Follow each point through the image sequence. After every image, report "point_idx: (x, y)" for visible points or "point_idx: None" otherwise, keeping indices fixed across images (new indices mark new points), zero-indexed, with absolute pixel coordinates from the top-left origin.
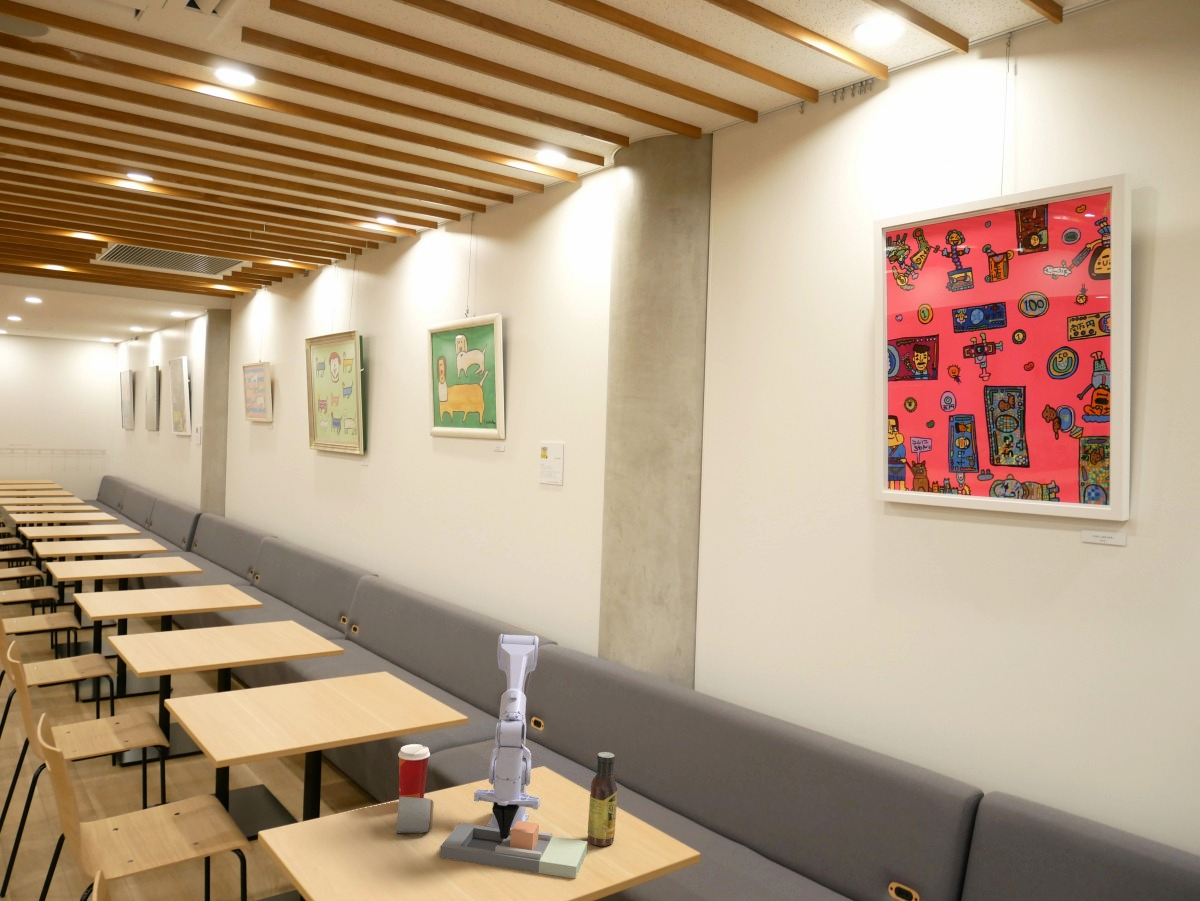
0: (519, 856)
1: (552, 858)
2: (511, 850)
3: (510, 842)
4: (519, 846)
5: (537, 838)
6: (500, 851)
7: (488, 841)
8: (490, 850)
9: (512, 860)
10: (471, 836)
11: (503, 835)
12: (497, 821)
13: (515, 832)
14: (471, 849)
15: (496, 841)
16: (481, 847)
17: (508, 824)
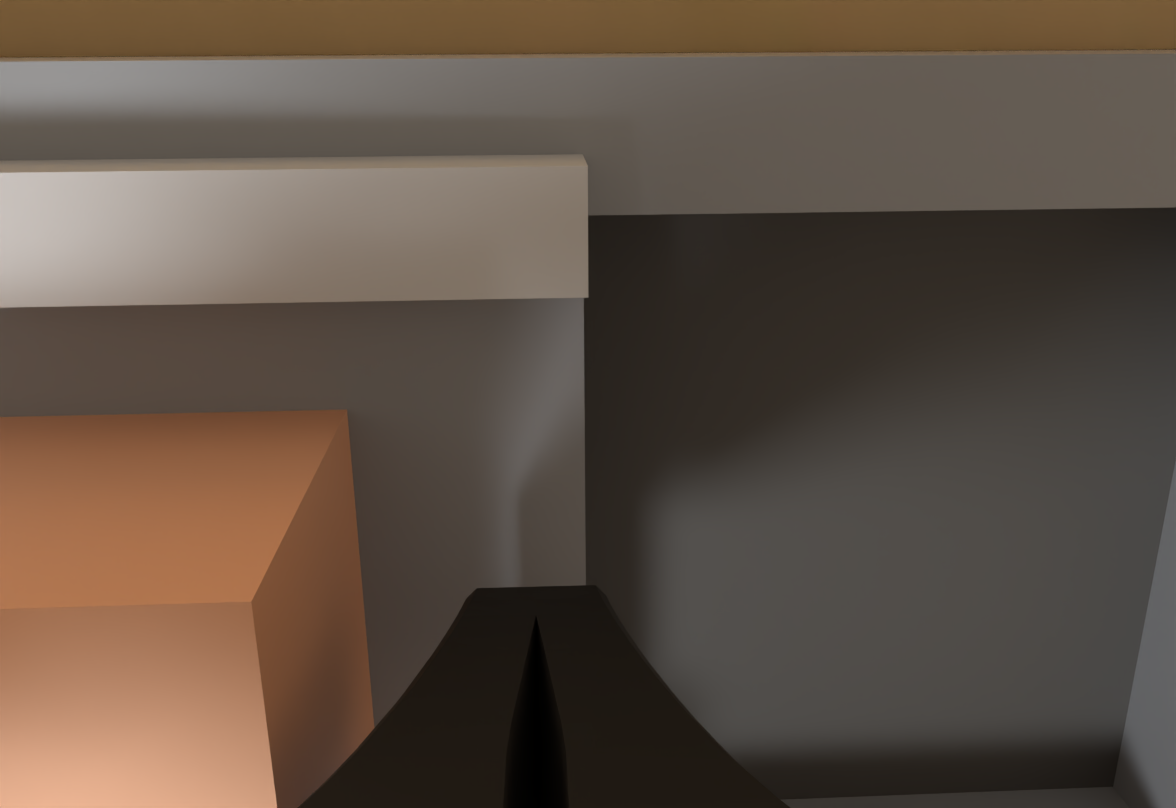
0: (5, 134)
1: None
2: (183, 172)
3: (314, 457)
4: (110, 437)
5: None
6: (459, 158)
7: (862, 743)
8: (700, 201)
9: (162, 59)
10: (1158, 740)
11: (532, 608)
12: (751, 779)
13: (113, 581)
14: (1103, 121)
15: None
16: (924, 546)
17: (360, 766)
